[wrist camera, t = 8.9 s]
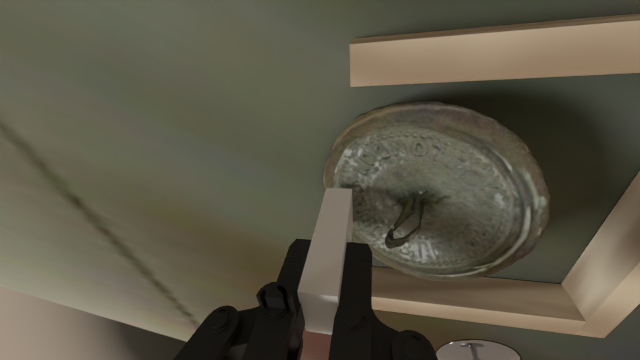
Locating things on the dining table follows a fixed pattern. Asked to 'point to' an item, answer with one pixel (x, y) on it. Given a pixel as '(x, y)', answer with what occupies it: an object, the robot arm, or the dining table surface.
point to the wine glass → (476, 351)
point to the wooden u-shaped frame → (515, 63)
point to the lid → (439, 189)
